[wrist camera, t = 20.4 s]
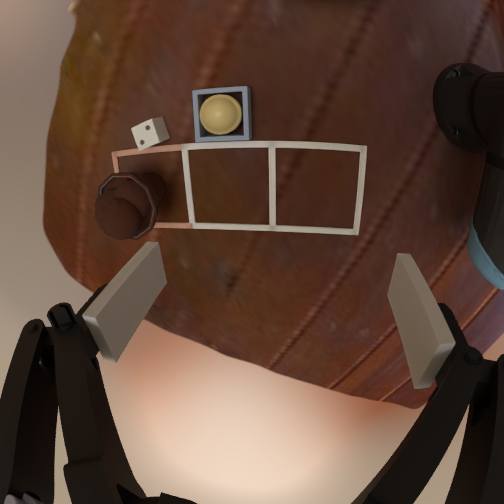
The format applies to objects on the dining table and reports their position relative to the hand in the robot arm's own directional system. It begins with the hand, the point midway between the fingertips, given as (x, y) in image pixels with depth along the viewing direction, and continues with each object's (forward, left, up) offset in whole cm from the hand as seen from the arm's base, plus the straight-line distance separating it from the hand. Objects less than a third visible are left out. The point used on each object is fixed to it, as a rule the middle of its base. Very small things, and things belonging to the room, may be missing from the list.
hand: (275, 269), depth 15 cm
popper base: (-7, -10, -32) cm, 34 cm away
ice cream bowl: (+5, -24, -32) cm, 40 cm away
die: (-5, -22, -32) cm, 39 cm away
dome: (-7, -10, -31) cm, 34 cm away
